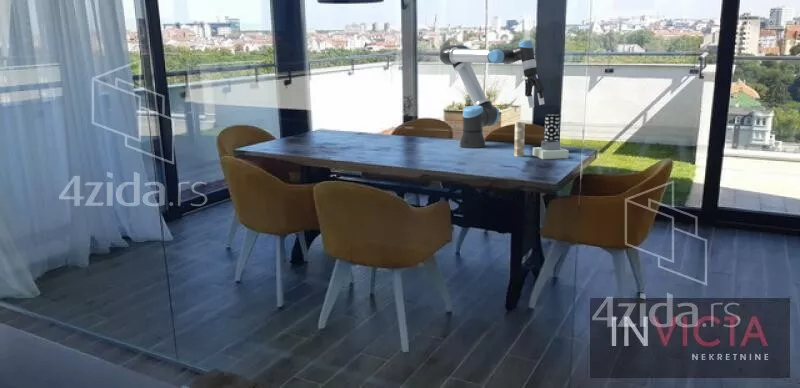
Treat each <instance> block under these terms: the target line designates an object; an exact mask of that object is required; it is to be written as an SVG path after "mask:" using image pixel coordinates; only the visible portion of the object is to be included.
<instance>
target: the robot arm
mask: <svg viewBox="0 0 800 388" xmlns="http://www.w3.org/2000/svg"><path fill="white" fill-rule="evenodd" d="M438 55H439V60H440V61H441V62H442V63H443V64H444V65H448V66H452V67H453V70H454V71H456V72H458V74H459V77H460V78H461V81H462V83H463V86H464V88H465V90H466V92H467V94H468V97H469V98H470V101H471V103H472V105H468V106H465V107H464V108H463V109H462V135H461V137H460V140H459V147H460V148H465V149H467V148H468V149H479V148H485V147H486V139H485V137H484V132H483V129H484V127H491V126H494V125H496V124H497V123H498V122H499V119H500V111H499V109H498V107H497V106H495V105H493V104H492V102H491V100H489V99H487V97H486V95H485V93H484V90H483V89H482V85H481V84H480V82H479V80H478V78H477V75H476V73H475V71H474V69H473V67H472V63H481V64H482V63H487V64H504V65H511V64H513V63H516V62H519V61H521V64H522V65H521V67H522V69H523V75H524V77H526V78H525V79H524V85H525V86H524V96H525V97H527V102H528V107H529V109H532V108H535V102H534V98H533V87H534V88H535V90H536V94H537V99H538V103H539V106H541V105H545V98H544V94H543V93H544V92H543V91H544V90H545V87H544V84H543V83H542V81H541V77H540V75H539V74H538V73H539V72H538V67H537V60H536V57H535V51H534V46H533V41H532V40H530V39H526V40H522V41H520V42H518V46H517V47H514V48H510V49H509V48H507V49H506V48H503V49H500V48H497V49H495V48H494V49H493V48H492V49H491V48H487V49H486V48H485V49H484V48H470V47H469V46H467V45H464V44H448V45H445V46H443V47H442V48H441V49H440V51H439V54H438Z"/></svg>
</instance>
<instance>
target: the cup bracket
mask: <svg viewBox="0 0 800 388" xmlns="http://www.w3.org/2000/svg"><path fill="white" fill-rule="evenodd" d="M540 147H541V148H542V149H544V150H560V148H561V141H560V142H558V141H555V140H547V141H544V140H541V141H540Z"/></svg>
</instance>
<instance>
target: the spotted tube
mask: <svg viewBox="0 0 800 388" xmlns="http://www.w3.org/2000/svg"><path fill="white" fill-rule="evenodd" d="M561 117H562V115H561V114H557V113H555V114H554V113H548V114H545V115H544V133H543V134H544V138H543V141H547V140H555V141H558V142H560V143H561V141H560V139H561V137H560V136H561Z"/></svg>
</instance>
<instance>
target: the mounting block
mask: <svg viewBox="0 0 800 388" xmlns="http://www.w3.org/2000/svg"><path fill="white" fill-rule="evenodd" d="M569 153H570V152H569V150H568V149H566V148H562V147H560V150H544V149H542V148H541V146H540V147H539V146H537V147H532V156H534V157H536V158H539V159H541V160H552V159H553V160H555V159H556V160H557V159H569Z"/></svg>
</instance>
